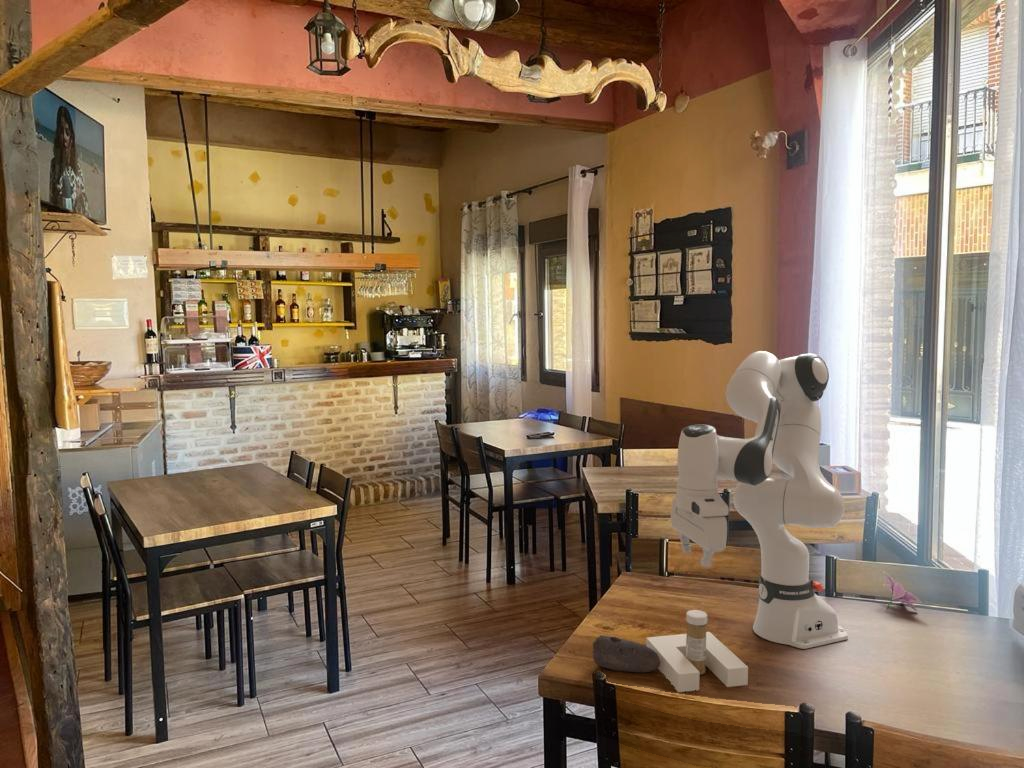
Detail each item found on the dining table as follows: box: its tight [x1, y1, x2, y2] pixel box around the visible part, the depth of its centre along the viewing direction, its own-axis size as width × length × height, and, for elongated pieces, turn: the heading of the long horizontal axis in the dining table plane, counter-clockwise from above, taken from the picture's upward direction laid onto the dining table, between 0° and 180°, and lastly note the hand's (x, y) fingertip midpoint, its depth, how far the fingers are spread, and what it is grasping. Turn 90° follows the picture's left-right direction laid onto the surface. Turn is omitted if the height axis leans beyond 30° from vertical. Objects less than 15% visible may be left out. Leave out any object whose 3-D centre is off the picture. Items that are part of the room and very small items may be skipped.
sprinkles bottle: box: [685, 609, 708, 675], centre depth 161 cm, size 5×5×13 cm
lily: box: [882, 570, 923, 612], centre depth 195 cm, size 12×12×10 cm
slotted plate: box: [645, 631, 749, 693], centre depth 163 cm, size 16×18×4 cm
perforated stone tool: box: [592, 635, 660, 673], centre depth 162 cm, size 15×5×7 cm, turn 72°
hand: (695, 559), depth 162 cm, fingers open, 8 cm apart
